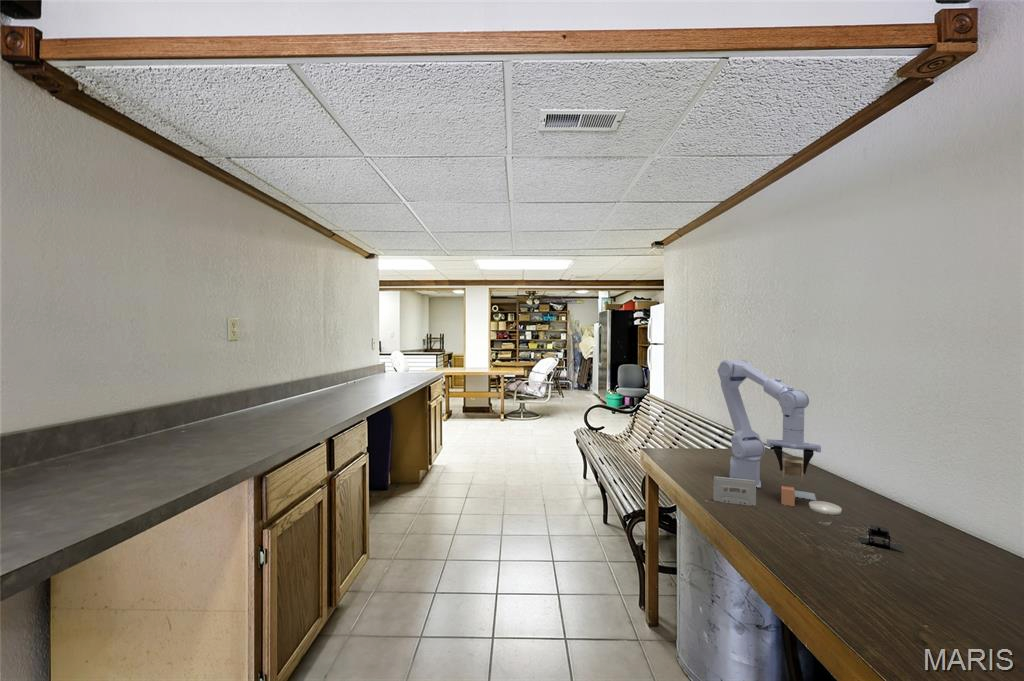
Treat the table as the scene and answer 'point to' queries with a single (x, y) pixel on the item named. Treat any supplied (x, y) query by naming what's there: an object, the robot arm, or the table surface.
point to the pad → (805, 495)
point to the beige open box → (792, 466)
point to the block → (788, 495)
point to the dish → (825, 507)
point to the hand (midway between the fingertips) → (792, 471)
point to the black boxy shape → (879, 543)
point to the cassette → (733, 496)
